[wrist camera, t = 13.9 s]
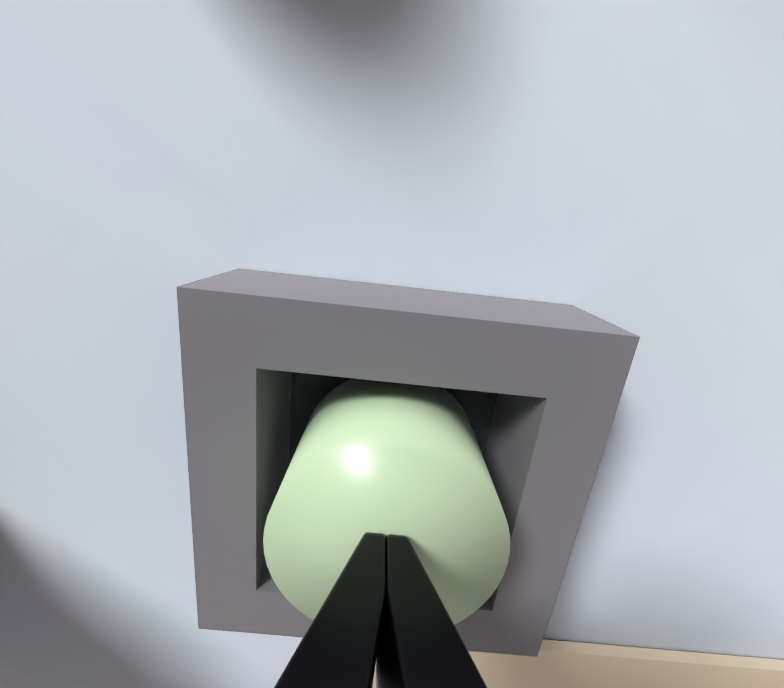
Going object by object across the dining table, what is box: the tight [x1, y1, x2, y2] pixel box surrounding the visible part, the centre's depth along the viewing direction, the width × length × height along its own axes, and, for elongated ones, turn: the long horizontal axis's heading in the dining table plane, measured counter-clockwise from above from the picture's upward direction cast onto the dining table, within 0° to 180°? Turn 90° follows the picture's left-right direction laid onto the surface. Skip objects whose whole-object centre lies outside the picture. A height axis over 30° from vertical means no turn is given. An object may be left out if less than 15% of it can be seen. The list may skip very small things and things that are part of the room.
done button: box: [263, 378, 510, 625], centre depth 9 cm, size 5×5×4 cm
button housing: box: [177, 269, 640, 657], centre depth 10 cm, size 9×9×3 cm
